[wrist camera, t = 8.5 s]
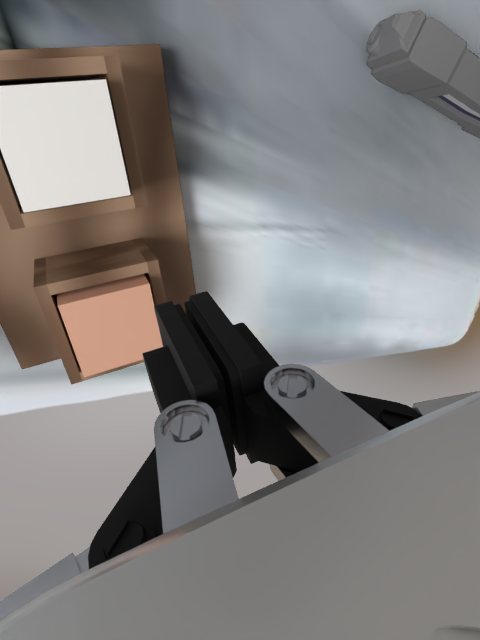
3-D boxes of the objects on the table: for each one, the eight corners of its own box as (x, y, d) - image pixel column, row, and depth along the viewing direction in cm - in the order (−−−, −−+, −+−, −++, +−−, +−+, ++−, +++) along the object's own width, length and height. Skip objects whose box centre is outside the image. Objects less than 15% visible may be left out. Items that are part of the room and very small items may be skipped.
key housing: (154, 46, 27) (184, 32, 22) (194, 312, 39) (220, 347, 33) (-117, 57, 22) (-169, 42, 16) (22, 359, 33) (19, 410, 28)
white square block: (95, 82, 24) (106, 79, 20) (117, 181, 27) (130, 195, 23) (-12, 90, 22) (-23, 87, 18) (26, 195, 25) (23, 212, 21)
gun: (337, 53, 42) (402, -8, 28) (514, 148, 46) (645, 137, 33) (324, 84, 42) (381, 41, 29) (499, 174, 47) (620, 174, 33)
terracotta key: (135, 259, 30) (149, 283, 26) (149, 323, 33) (164, 352, 30) (55, 277, 28) (57, 305, 24) (78, 343, 32) (84, 377, 28)
